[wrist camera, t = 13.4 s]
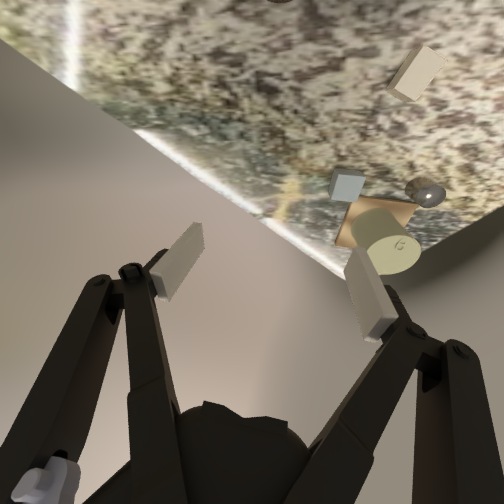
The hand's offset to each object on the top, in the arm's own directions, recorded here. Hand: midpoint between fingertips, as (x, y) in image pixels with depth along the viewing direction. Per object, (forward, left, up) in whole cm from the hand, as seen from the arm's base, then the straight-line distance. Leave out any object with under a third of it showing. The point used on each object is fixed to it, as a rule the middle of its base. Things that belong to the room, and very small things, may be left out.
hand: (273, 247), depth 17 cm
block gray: (+2, +12, -32) cm, 34 cm away
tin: (+2, +27, -32) cm, 42 cm away
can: (+11, +22, -31) cm, 39 cm away
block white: (-15, +17, -32) cm, 39 cm away
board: (+11, +22, -32) cm, 40 cm away
